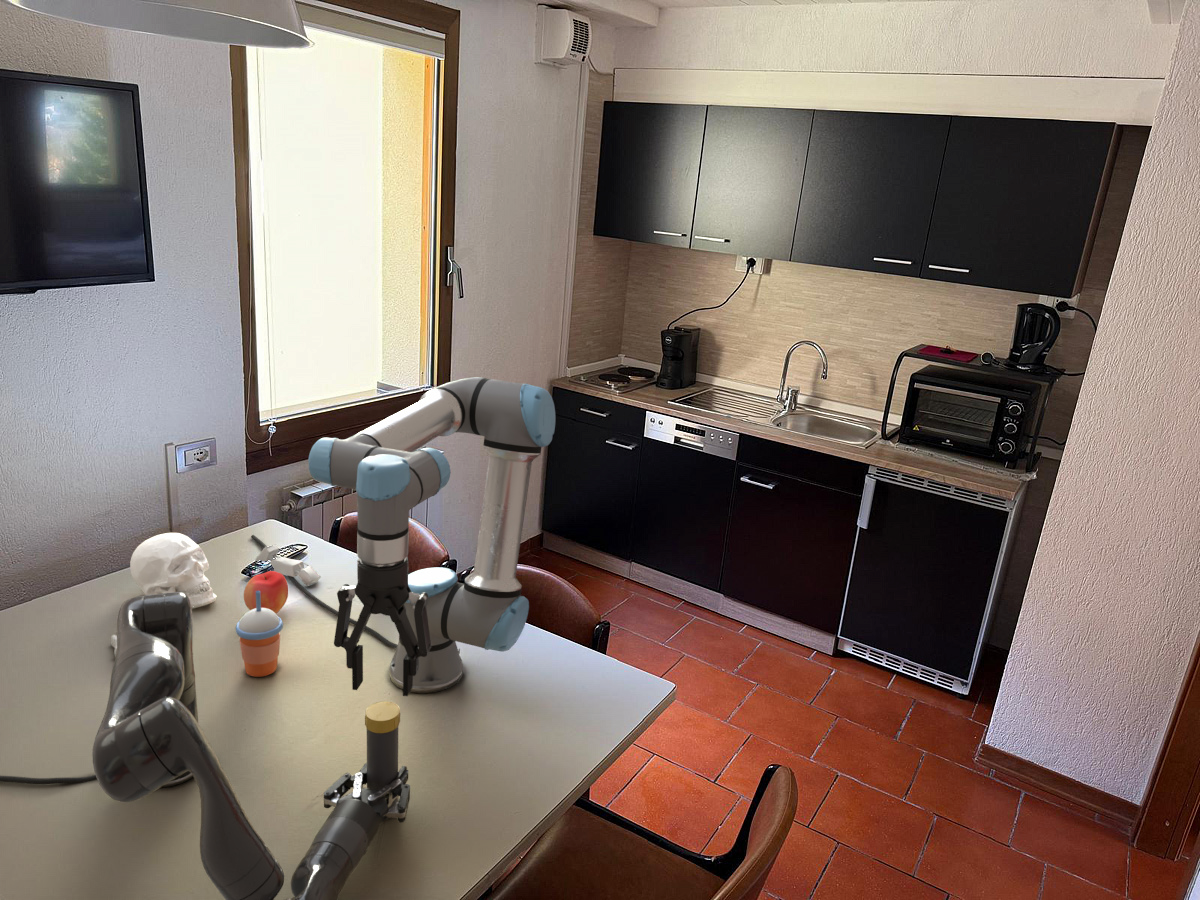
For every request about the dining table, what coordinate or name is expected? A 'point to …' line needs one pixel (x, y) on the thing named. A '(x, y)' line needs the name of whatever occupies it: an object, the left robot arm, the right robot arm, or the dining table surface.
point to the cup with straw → (259, 639)
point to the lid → (382, 717)
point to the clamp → (288, 565)
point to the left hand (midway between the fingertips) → (388, 767)
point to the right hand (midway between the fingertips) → (382, 688)
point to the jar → (382, 759)
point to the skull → (172, 568)
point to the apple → (267, 591)
